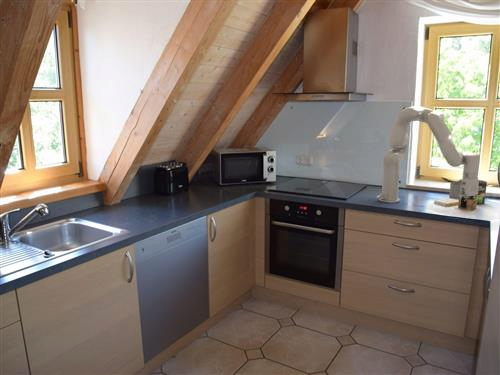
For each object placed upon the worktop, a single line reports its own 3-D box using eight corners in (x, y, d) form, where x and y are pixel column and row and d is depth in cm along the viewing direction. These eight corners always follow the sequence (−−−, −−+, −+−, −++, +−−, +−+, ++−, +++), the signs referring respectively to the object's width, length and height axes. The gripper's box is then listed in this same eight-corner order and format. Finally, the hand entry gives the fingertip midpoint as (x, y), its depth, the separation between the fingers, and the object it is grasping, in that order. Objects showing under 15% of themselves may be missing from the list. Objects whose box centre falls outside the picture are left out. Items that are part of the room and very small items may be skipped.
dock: (446, 208, 247) (447, 203, 247) (433, 205, 255) (434, 200, 254) (461, 206, 253) (462, 201, 252) (448, 202, 261) (449, 198, 260)
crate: (469, 210, 239) (470, 200, 237) (457, 207, 245) (458, 197, 243) (476, 209, 241) (477, 198, 240) (464, 206, 247) (465, 196, 246)
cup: (462, 198, 272) (464, 182, 270) (464, 201, 265) (466, 185, 263) (448, 197, 275) (449, 182, 273) (449, 200, 268) (451, 184, 265)
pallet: (467, 213, 237) (467, 211, 237) (453, 210, 245) (453, 208, 244) (480, 211, 242) (480, 209, 242) (465, 207, 250) (466, 205, 249)
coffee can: (487, 206, 251) (489, 183, 248) (468, 206, 253) (470, 182, 250) (481, 202, 261) (483, 179, 258) (462, 202, 263) (465, 179, 260)
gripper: (466, 178, 232) (463, 210, 236) (486, 175, 240) (483, 206, 243) (454, 175, 238) (451, 207, 242) (474, 173, 246) (471, 203, 250)
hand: (467, 206), depth 243 cm, fingers closed on crate, 6 cm apart
